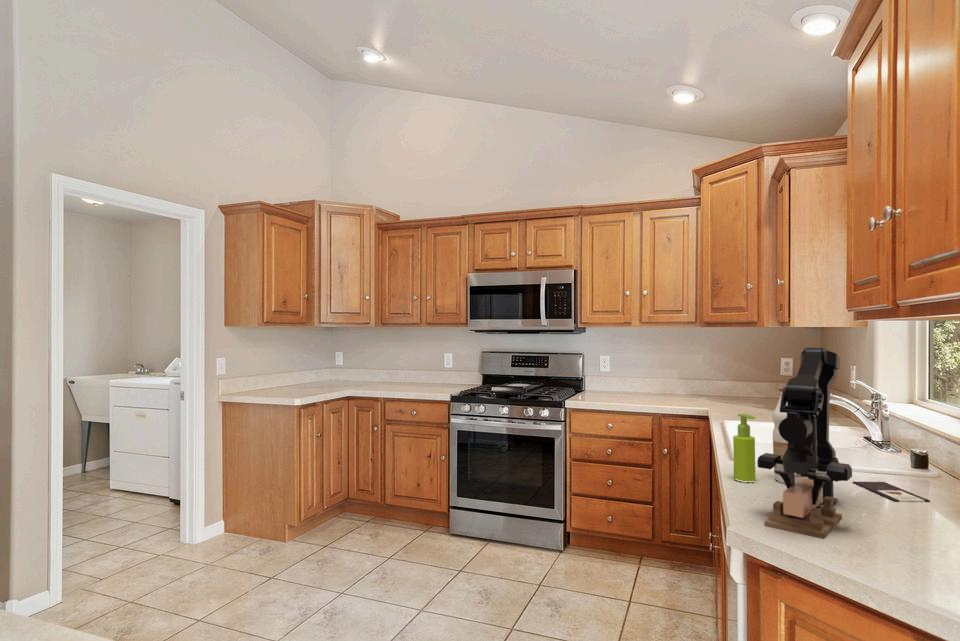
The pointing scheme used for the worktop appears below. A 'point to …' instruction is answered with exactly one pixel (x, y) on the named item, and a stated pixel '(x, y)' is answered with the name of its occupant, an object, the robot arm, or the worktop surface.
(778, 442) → the fruit juice
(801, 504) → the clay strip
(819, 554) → the worktop surface
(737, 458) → the soap dispenser
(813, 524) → the drying rack
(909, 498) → the chocolate bar
